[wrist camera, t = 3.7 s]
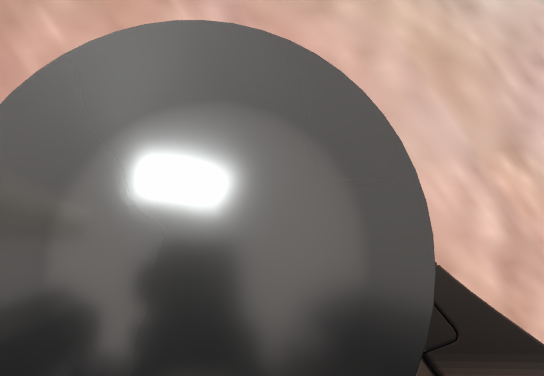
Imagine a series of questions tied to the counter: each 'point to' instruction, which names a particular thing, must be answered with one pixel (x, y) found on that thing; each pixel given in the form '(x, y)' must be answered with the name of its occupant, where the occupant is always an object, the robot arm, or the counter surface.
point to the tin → (207, 214)
